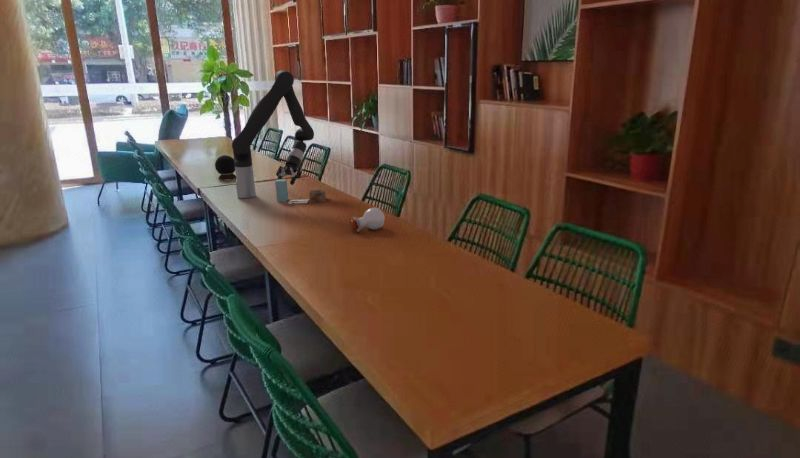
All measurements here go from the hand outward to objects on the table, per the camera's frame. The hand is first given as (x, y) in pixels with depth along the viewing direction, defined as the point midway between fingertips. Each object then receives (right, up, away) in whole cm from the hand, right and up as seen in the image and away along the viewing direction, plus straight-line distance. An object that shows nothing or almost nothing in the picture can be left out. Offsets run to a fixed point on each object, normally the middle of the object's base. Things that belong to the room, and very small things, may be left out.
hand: (284, 183), depth 277 cm
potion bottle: (+48, -25, -55) cm, 77 cm away
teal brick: (-1, -9, 0) cm, 9 cm away
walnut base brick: (+18, -9, -2) cm, 20 cm away
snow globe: (-51, +9, +62) cm, 81 cm away
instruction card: (+8, -10, -4) cm, 13 cm away
